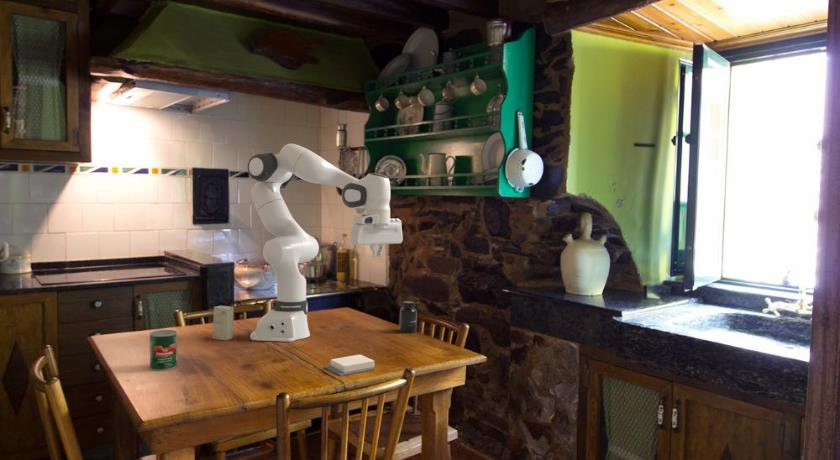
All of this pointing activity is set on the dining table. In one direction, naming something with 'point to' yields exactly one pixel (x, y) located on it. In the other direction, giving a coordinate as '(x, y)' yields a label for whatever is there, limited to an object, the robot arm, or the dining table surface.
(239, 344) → the dining table surface
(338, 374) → the mat
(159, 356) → the canned tomato
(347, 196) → the robot arm
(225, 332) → the skincare box
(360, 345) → the dining table surface
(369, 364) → the tile
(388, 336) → the dining table surface
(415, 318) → the supplement bottle
